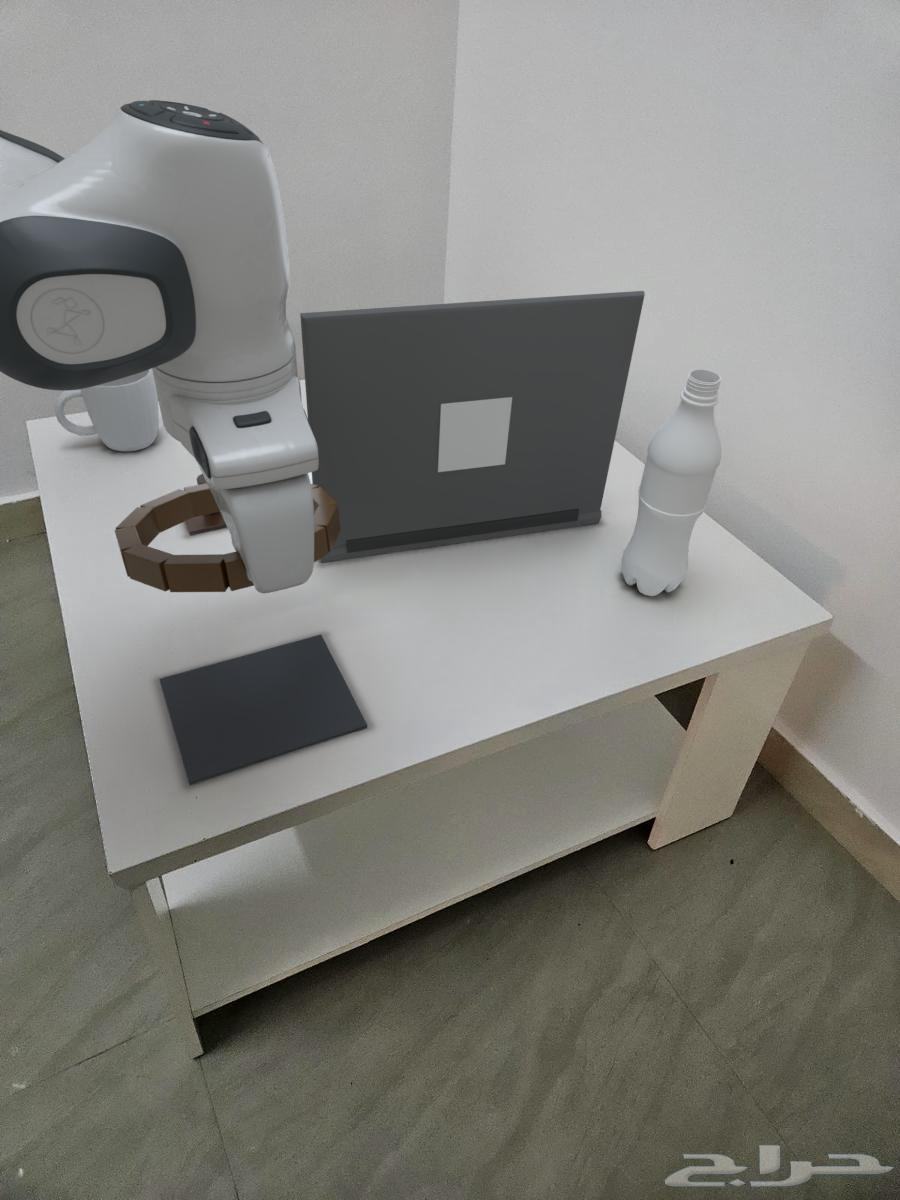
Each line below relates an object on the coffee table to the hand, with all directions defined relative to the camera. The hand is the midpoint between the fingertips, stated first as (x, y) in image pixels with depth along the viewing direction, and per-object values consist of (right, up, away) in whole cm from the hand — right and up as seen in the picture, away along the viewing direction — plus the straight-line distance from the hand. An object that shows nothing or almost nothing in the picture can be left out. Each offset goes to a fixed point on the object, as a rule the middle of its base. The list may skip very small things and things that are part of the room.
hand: (252, 562), depth 62 cm
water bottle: (+38, -1, +31) cm, 49 cm away
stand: (-14, +8, +37) cm, 40 cm away
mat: (-3, -13, +14) cm, 19 cm away
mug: (-30, +18, +48) cm, 59 cm away
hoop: (-3, +2, +7) cm, 8 cm away
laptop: (+13, +13, +45) cm, 48 cm away
